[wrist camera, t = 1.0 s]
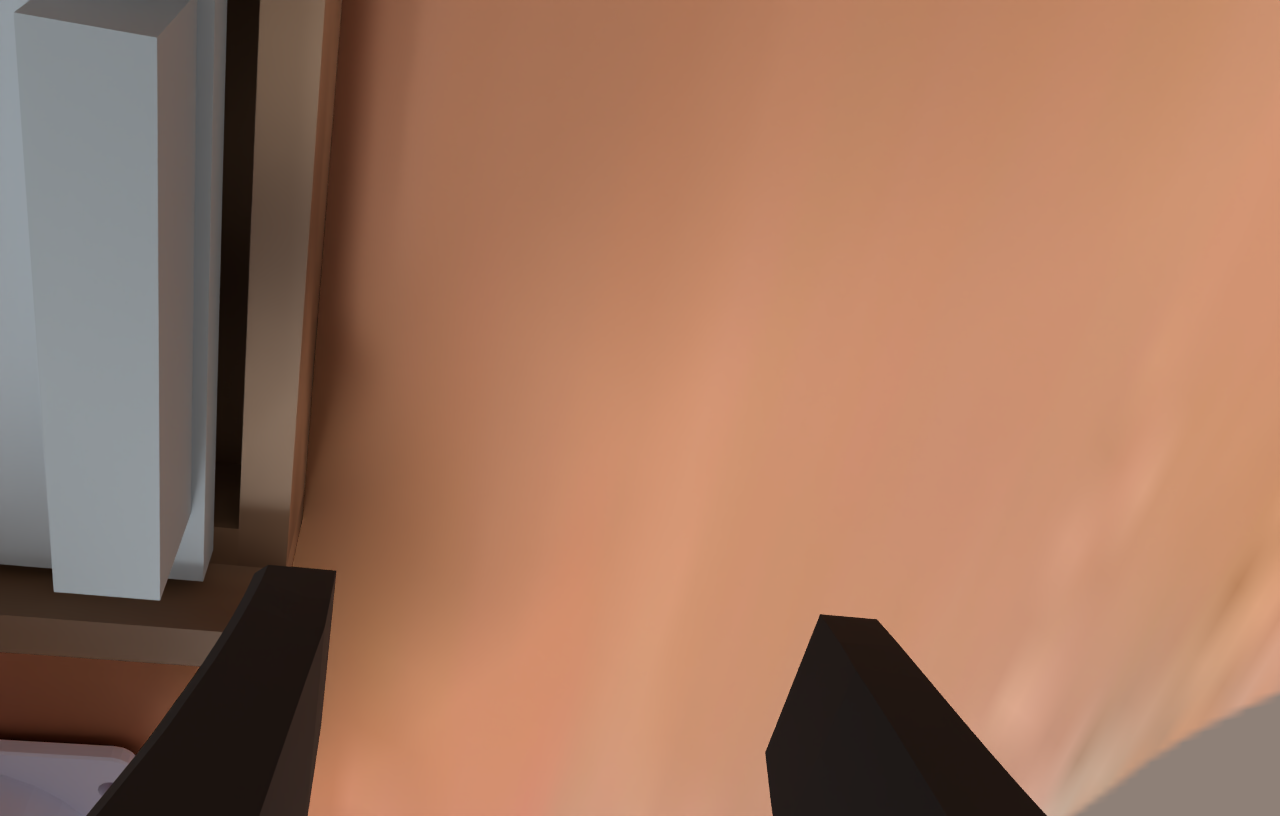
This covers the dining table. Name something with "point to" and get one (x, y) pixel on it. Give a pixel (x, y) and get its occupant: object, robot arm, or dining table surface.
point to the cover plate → (110, 289)
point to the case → (234, 352)
